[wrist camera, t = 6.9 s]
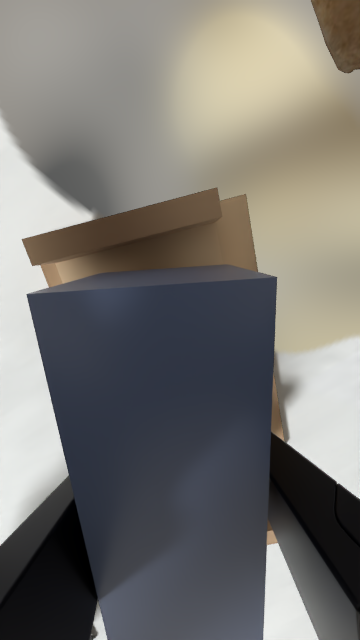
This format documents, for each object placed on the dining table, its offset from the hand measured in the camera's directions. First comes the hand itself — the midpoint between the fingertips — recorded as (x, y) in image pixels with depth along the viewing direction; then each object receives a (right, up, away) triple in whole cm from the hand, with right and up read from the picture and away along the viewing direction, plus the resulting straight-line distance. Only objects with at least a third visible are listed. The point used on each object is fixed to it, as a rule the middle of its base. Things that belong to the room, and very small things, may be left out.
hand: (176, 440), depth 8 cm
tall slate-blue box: (0, 0, +1) cm, 1 cm away
